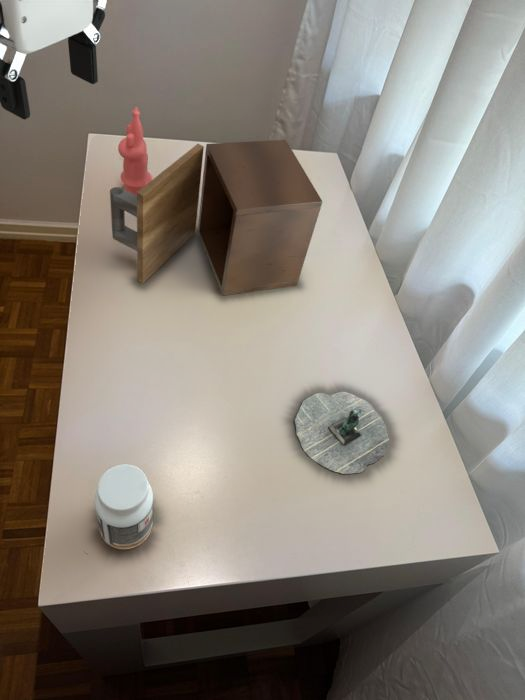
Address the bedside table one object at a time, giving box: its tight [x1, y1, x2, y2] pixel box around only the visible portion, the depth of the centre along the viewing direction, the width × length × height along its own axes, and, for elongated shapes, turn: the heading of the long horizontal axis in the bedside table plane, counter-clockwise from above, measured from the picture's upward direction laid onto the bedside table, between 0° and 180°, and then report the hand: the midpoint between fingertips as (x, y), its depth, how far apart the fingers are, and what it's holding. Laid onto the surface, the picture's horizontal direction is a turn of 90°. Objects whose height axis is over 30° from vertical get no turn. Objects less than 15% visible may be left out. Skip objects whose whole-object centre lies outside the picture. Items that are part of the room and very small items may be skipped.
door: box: [109, 143, 205, 285], centre depth 82 cm, size 7×14×16 cm, turn 151°
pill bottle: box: [93, 463, 154, 550], centre depth 58 cm, size 6×6×10 cm
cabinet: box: [197, 139, 323, 297], centre depth 84 cm, size 12×14×16 cm
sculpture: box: [294, 391, 390, 475], centre depth 73 cm, size 12×9×8 cm
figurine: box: [117, 106, 153, 196], centre depth 89 cm, size 5×5×15 cm
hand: (51, 94), depth 59 cm, fingers open, 9 cm apart
